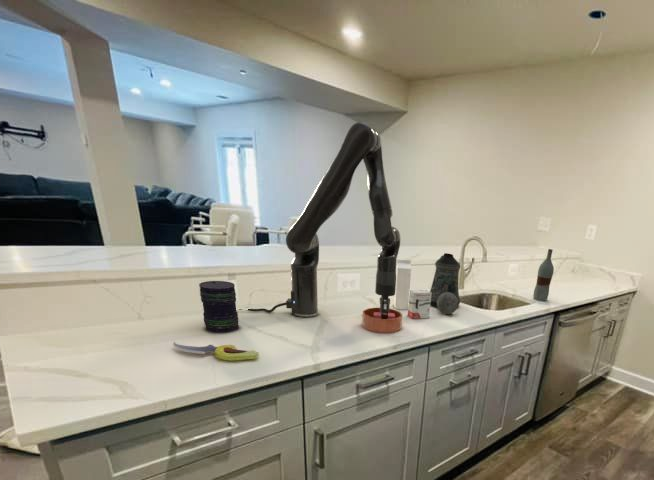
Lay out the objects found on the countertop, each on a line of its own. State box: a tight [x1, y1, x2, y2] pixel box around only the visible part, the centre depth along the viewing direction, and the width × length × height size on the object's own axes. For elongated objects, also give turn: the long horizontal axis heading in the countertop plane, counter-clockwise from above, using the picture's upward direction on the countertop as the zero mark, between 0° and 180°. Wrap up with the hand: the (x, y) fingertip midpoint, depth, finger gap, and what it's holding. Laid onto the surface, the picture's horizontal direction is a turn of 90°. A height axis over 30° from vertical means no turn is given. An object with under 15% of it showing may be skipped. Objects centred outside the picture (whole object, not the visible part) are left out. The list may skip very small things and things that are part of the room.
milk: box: [393, 258, 412, 310], centre depth 175 cm, size 6×6×22 cm
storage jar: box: [198, 280, 240, 334], centre depth 126 cm, size 10×10×15 cm
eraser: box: [374, 312, 395, 319], centre depth 151 cm, size 8×4×4 cm, turn 102°
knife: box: [172, 342, 260, 361], centre depth 110 cm, size 8×3×25 cm
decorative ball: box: [437, 292, 459, 315], centre depth 178 cm, size 10×10×10 cm
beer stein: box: [429, 252, 461, 309], centre depth 189 cm, size 16×19×25 cm
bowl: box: [361, 307, 403, 334], centre depth 150 cm, size 15×15×6 cm
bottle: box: [532, 248, 555, 302], centre depth 229 cm, size 9×9×30 cm
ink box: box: [407, 288, 432, 320], centre depth 167 cm, size 8×5×12 cm, turn 123°
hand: (383, 324), depth 151 cm, fingers closed on eraser, 4 cm apart
